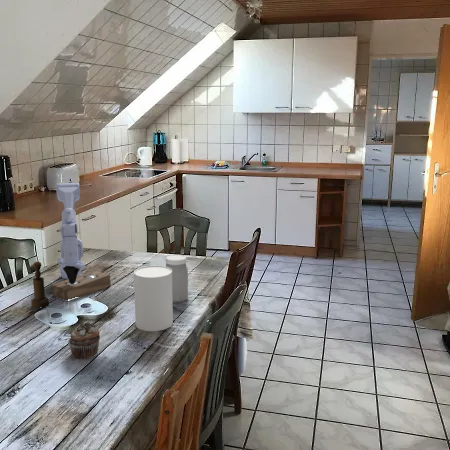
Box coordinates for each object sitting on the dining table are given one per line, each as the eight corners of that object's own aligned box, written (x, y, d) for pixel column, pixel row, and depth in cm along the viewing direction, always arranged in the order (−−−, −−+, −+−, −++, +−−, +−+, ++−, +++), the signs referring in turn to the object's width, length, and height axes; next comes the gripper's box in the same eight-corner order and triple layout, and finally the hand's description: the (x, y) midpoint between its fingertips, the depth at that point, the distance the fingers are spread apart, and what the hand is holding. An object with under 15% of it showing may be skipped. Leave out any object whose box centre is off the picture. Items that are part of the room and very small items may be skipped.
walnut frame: (52, 296, 206) (51, 284, 205) (94, 281, 225) (94, 270, 224) (68, 301, 201) (68, 289, 200) (110, 285, 220) (110, 274, 219)
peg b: (84, 286, 216) (83, 276, 215) (91, 284, 220) (91, 274, 219) (91, 289, 214) (90, 278, 213) (98, 286, 218) (98, 275, 217)
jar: (184, 304, 199) (184, 261, 195) (161, 302, 201) (160, 260, 197) (191, 296, 209) (190, 254, 205) (168, 294, 211) (168, 253, 206)
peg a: (65, 293, 208) (64, 283, 207) (73, 290, 212) (73, 280, 211) (72, 296, 206) (71, 285, 205) (80, 292, 209) (80, 282, 208)
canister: (137, 332, 174) (135, 278, 169) (133, 317, 187) (132, 266, 182) (175, 328, 177) (175, 275, 173) (169, 314, 190) (168, 264, 185)
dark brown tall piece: (27, 306, 196) (24, 262, 191) (40, 301, 201) (37, 258, 197) (40, 309, 193) (36, 265, 188) (52, 304, 198) (49, 261, 194)
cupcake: (88, 343, 166) (86, 315, 163) (106, 352, 160) (105, 323, 157) (63, 354, 158) (61, 324, 156) (81, 363, 152) (79, 333, 150)
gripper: (51, 251, 205) (53, 282, 208) (74, 256, 198) (76, 289, 201) (65, 247, 211) (66, 277, 214) (88, 252, 203) (90, 284, 206)
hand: (72, 282), depth 208 cm, fingers closed, pressing on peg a
